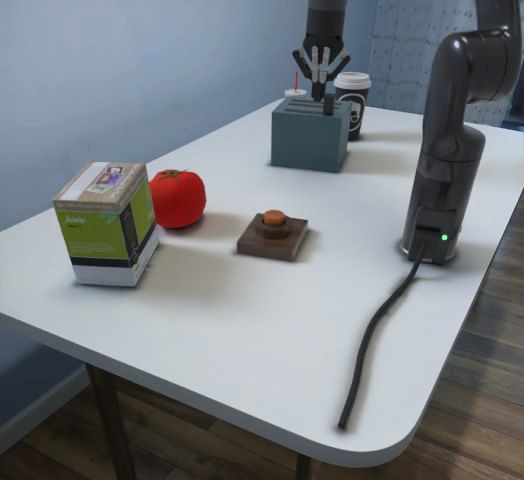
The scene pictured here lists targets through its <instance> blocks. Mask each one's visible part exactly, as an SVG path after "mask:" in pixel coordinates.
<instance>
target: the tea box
mask: <svg viewBox="0 0 524 480" xmlns="http://www.w3.org/2000/svg"><path fill="white" fill-rule="evenodd" d="M149 182H150V181H149V175H148V169H147V163H145V162H113V161H112V162H111V161H109V162H108V161H90V160H89V161H88V162H87V164H85V165H84V166H83V167H82V168H81V169H80V170H79V172H78V173H76V175H74V177H73V178H72V179H71V180H69V182H68V183H67V184H66V185H65V186H64V187H63V188H62V189H60V191H58V193H57V195H56V196H54V197H53V198H52V199H51V201H52V205H53V210H54V213H55V216H56V220H57V222H58V225H59V228H60V232H61V235H62V238H63V241H64V244H65V248H66V251H67V255H68V257H69V260H70V263H71V267H72V270H73V271H72V272H73V273H74V277H75V280H76V282H77V284H79V285H97V286H111V287H112V286H113V287H131V288H132V287H136V285H137V284H138V281H139V280H140V278H141V276H142V274H143V273H144V270H145V269H146V266H147V265H148V263H149V262H150V259H151V258H152V256H153V254H154V252H155V250H156V248H158V245H159V243H160V238H159V231H158V226H157V225H158V224H156V219H155V214H154V208H153V202H152V197H151V191H150V186H149Z"/></svg>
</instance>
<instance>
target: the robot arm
mask: <svg viewBox="0 0 524 480" xmlns="http://www.w3.org/2000/svg"><path fill="white" fill-rule="evenodd" d="M473 1H474V6H475V15H476V29H473V30H458V31H454V32H450V33H448V34H447V35H445V36H444V38H442V40H441V41H440V43H439V44H438V46H437V48H436V49H435V50H436V51H435V53H434V56H433V57H432V58H433V59H432V63H431V66H430V71H429V77H428V84H427V90H426V98H425V103H424V110H423V115H422V123H421V124H422V125H421V133H422V134H421V135H422V137H421V146H420V150H419V153H418V154H419V155H418V160H417V165H416V169H415V174H414V178H413V183H412V188H411V193H410V198H409V203H408V207H407V211H406V217H405V222H404V228H403V232H402V237H401V240H400V243H399V249H400V251H401V252H402V253H403V254H404V255H405V256H406V259H407V260H409V261H414V263H413V265H412V267H411V270H410V271H409V272H408V274H407V277H406V278H405V280H404V281H402V284H400V285H399V286H398V287H397V288H396V289H395V290H394V291H393V292H392V293H391V295H390V296H389V297H388V298H387V299H386V300H385V301H384V302H383V303H382V305H380V307H379V308H378V309H377V310H376V311H375V313H374V314H373V315H372V318H371V319H370V321H369V323H368V325H367V327H366V329H365V331H364V334H363V336H362V340H361V342H360V345H359V349H358V352H357V354H356V355H357V356H356V360H355V364H354V369H353V376H352V380H351V383H350V388H349V391H348V394H347V397H346V400H345V403H344V405H343V409H342V411H341V414H340V417H339V420H338V423H337V428H339V429H340V430H344V429H346V426H347V424H348V420H349V417H350V414H351V412H352V409H353V406H354V402H355V399H356V396H357V393H358V389H359V386H360V382H361V376H362V371H363V365H364V361H365V355H366V352H367V348H368V345H369V341H370V339H371V335H372V334H373V331H374V328H375V327H376V325H377V323H378V322H379V320H380V318H381V317H382V316H383V314H384V313H385V312H386V310H388V308H389V307H390V306H391V305H392V304H393V303H394V302H395V301H396V300H397V299H398V298H399V296H400V295H401V294H402V293H403V292H404V291H405V290H406V289H407V287H408V286H409V285H410V284H411V283H412V281H413V279H414V277H415V276H416V273H417V272H418V270H419V267H420V265H421V263H428V264H435V265H443V266H444V265H445V263H446V262H447V261H449V260H451V259H452V258H454V256H455V253H456V247H457V244H458V240H459V237H460V234H461V233H462V228H463V222H464V220H465V215H466V212H467V209H468V206H469V201H470V198H471V195H472V191H473V187H474V185H475V181H476V177H477V174H478V171H479V167H480V164H481V160H482V157H483V154H484V150H485V147H486V143H487V137H486V135H485V133H483V132H482V131H481V130H479V129H477V128H475V127H473V126H469V125H467V124H465V114H466V110H467V106H477V105H489V104H490V105H491V104H496V103H500V102H503V101H504V100H506V99H507V98H509V96H511V94H512V92H513V91H514V90H515V88H516V85H517V83H518V81H519V78H520V74H521V69H522V62H523V28H522V27H523V26H522V14H521V13H522V12H521V0H473ZM347 5H348V0H307V11H306V12H307V13H306V26H305V35H304V39H303V40H302V45H300V46H299V47H298V48H295V49H294V50H293V51H292V52H291V56H292V57H293V59H294V61H295V63H296V64H297V66H298V68H299V70H300V72H301V74H303V77H304V78H305V79H307V80H309V81H310V82H311V93H310V96H311V97H310V98H314V101H316V102H320V101H321V100H322V99H324V96H325V95H326V89H327V83H328V82H333V81H335V79H336V78H337V76H338V74H340V73H342V71H343V70H344V68H345V67H346V66H347V65H348V64H349V63H350V61H352V60H353V55H352V54H351V53H349V52H348V51H347V50H346V49H345V48H344V47H345V42H344V39H343V36H344V35H343V34H344V28H345V27H344V25H345V18H346V9H347V7H348V6H347ZM339 55H340V57H339V58H338V62H339V64H337V66H336V67H335V68H334V69H333V71H332V72H330V73H329V71H330V68H331V65H332V63H334V61H335V60H336V59H337V57H338V56H339ZM306 56H307V57H308V59H309V61H310V63H311V67H310V66H309V63H308V62H307V60H306V58H305V57H306Z"/></svg>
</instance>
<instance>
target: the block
mask: <svg viewBox="0 0 524 480" xmlns="http://www.w3.org/2000/svg"><path fill="white" fill-rule="evenodd" d="M308 230H309V219H304V218H298V217H297V218H296V217H291V216H288V215H286V214H284V225H282V226H278V227H271V226H267V225H265V224H264V213H261V212H257V213H256V214H255V216H254V217H253V218H252V220H251V221H250V223H249V224H248V226H247V227H246V228H245V230H244V231H243V232H242V234H241V236H240V237H239V238H238V240H237V241H236V253H237V254H240V255H241V254H242V255H246V256H247V255H248V256H255V257H261V258H267V259H273V260H279V261H286V262H293V260H294V259H295V256H296V254H297V253H298V251H299V249H300V246H301V244H302V243H303V241H304V239H305V236H306V234H307V232H308Z"/></svg>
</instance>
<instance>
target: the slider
mask: <svg viewBox="0 0 524 480" xmlns="http://www.w3.org/2000/svg"><path fill="white" fill-rule="evenodd" d="M323 99H324V105H323V114H332V113H333V111H334V105H335V93H328V92H326V93H325V96H324V98H323Z"/></svg>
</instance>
